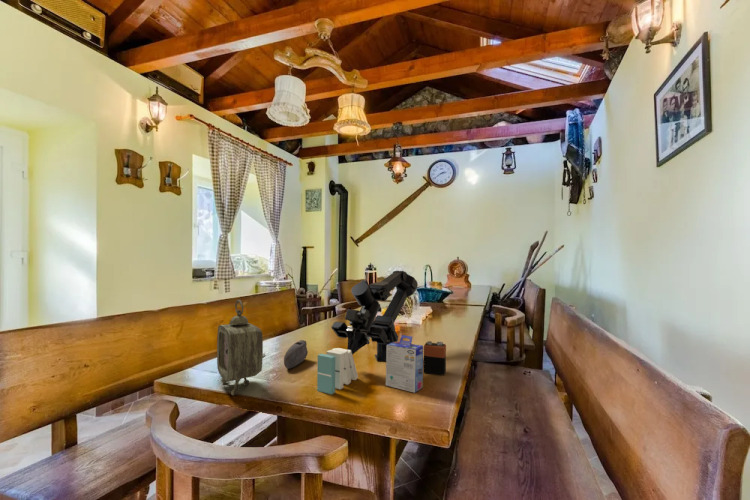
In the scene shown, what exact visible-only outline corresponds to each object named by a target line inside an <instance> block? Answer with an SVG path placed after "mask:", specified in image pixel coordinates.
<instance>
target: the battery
mask: <svg viewBox="0 0 750 500" xmlns="http://www.w3.org/2000/svg"><path fill="white" fill-rule="evenodd" d="M446 373H447V345H446V343H444V341H436V342H432V341H431V340H429V341H426V342H425V344H424V345H423V374H429V375H437V376H445V374H446Z"/></svg>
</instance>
